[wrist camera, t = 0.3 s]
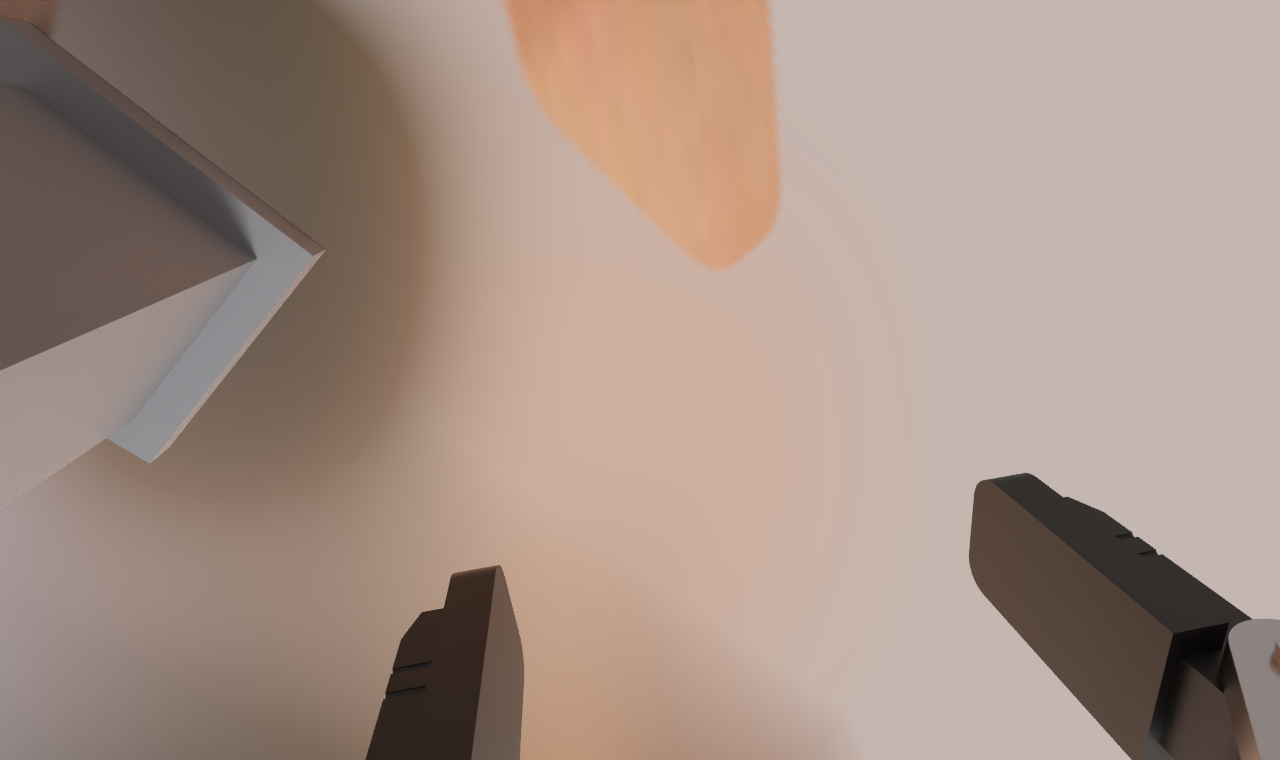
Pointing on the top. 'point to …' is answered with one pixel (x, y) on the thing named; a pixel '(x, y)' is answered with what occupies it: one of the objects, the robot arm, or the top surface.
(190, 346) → the stand
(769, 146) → the top surface
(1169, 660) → the robot arm
